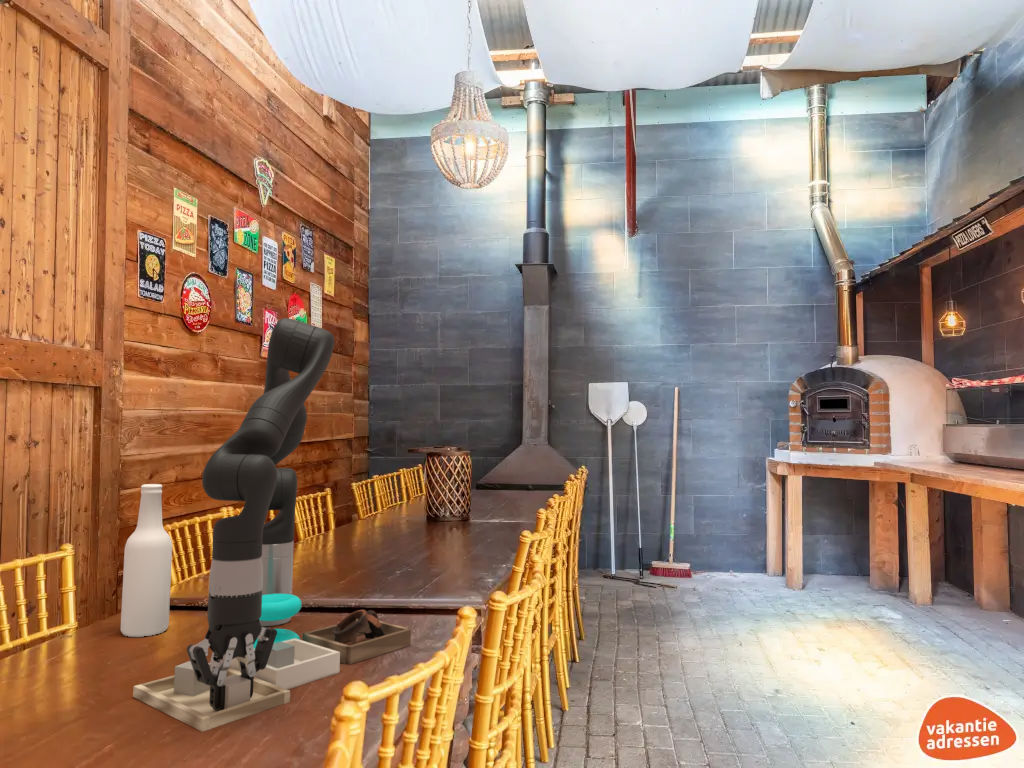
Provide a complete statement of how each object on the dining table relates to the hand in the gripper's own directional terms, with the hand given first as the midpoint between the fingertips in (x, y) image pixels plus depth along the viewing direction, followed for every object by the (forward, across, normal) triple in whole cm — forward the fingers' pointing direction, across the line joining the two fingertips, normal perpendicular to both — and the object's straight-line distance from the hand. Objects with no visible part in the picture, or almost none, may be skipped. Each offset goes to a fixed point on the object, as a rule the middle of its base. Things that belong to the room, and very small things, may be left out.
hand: (231, 705), depth 106 cm
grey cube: (0, -14, -9) cm, 16 cm away
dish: (+1, -14, -6) cm, 15 cm away
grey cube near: (0, 0, 0) cm, 0 cm away
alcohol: (+1, -12, -52) cm, 53 cm away
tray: (+1, 0, -6) cm, 6 cm away
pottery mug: (+1, -34, -10) cm, 35 cm away
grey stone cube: (0, 0, -11) cm, 11 cm away
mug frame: (+1, -33, -10) cm, 35 cm away
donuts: (+1, -21, -20) cm, 29 cm away
